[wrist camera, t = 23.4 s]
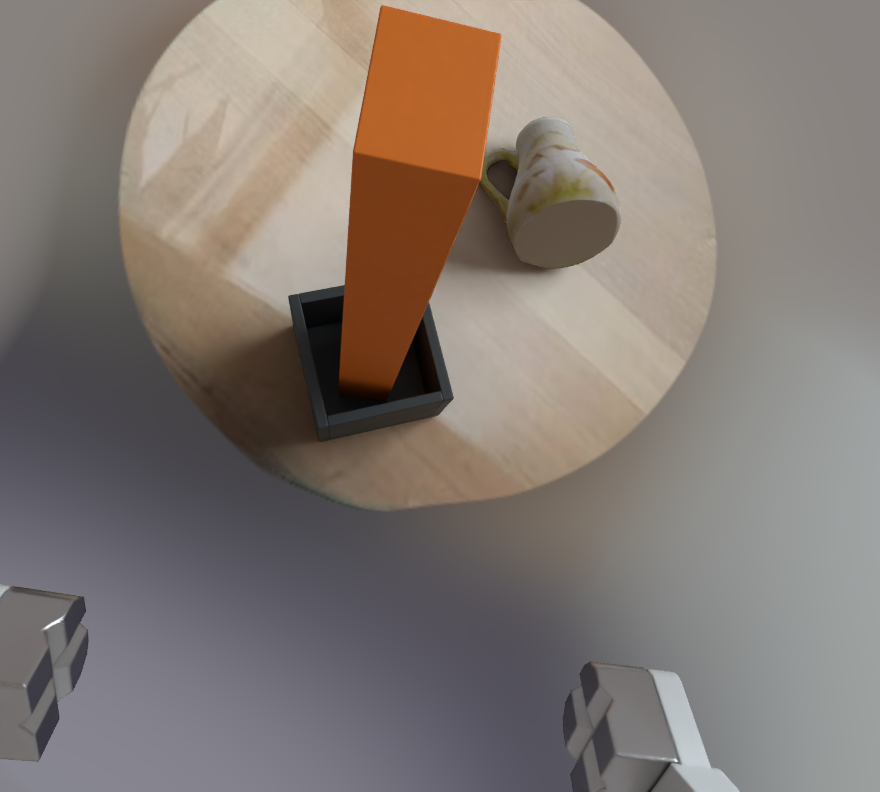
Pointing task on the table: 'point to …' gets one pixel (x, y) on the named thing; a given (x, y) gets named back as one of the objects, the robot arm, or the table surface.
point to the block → (410, 184)
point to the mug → (554, 197)
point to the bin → (319, 346)
